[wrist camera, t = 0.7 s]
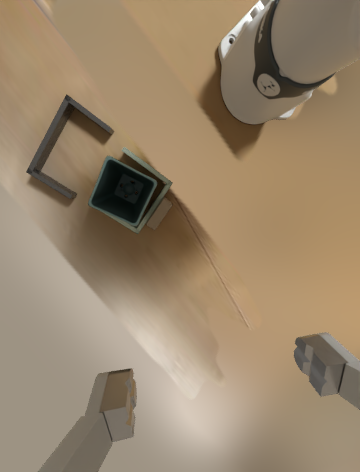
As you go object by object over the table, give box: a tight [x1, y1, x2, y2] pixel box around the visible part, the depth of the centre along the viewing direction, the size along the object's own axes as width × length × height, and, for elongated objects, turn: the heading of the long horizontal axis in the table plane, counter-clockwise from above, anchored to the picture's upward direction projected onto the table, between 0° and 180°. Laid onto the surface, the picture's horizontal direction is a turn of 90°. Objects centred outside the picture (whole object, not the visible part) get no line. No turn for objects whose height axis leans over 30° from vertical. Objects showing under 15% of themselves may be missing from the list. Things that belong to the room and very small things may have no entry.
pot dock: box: [26, 94, 114, 199], centre depth 36 cm, size 15×8×2 cm, turn 144°
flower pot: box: [88, 156, 157, 226], centre depth 36 cm, size 9×9×9 cm
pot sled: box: [101, 147, 173, 234], centre depth 38 cm, size 13×13×6 cm
